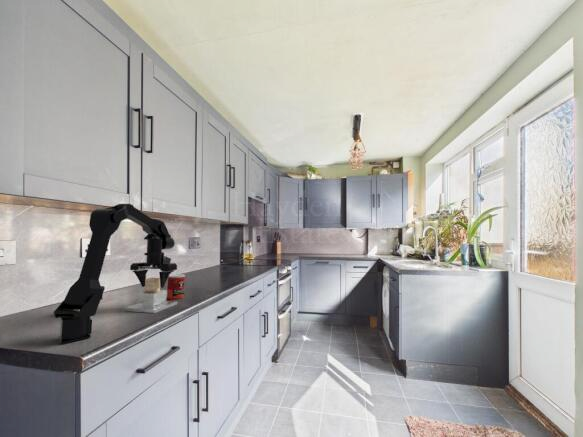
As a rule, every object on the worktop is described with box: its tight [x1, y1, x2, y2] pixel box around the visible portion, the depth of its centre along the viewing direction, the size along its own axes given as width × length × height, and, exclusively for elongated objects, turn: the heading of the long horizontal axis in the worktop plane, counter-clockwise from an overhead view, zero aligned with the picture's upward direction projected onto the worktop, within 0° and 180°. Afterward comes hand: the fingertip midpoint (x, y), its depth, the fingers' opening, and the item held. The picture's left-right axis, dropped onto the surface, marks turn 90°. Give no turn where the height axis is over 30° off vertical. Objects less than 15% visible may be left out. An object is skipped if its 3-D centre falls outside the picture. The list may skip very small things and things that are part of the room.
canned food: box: [166, 273, 186, 301], centre depth 125 cm, size 8×8×11 cm
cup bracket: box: [123, 289, 178, 314], centre depth 109 cm, size 14×14×6 cm
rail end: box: [144, 277, 161, 293], centre depth 109 cm, size 4×4×9 cm
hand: (152, 287), depth 109 cm, fingers open, 9 cm apart
